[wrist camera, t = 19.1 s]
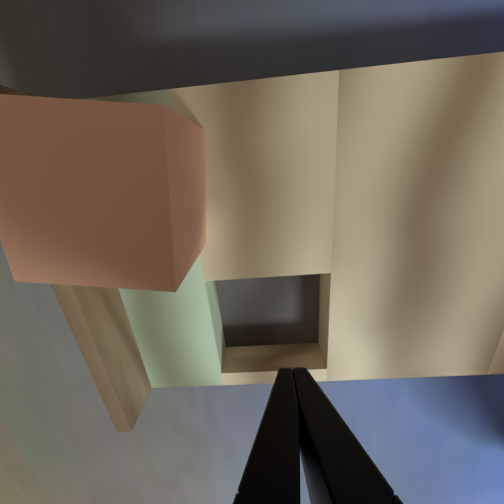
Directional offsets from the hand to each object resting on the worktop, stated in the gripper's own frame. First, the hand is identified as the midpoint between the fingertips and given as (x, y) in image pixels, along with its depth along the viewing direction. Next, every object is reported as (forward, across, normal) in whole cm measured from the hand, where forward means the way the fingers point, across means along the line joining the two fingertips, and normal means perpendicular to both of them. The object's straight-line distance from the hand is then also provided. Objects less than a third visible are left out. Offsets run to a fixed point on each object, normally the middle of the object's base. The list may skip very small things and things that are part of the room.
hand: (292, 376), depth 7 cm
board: (+8, -6, -2) cm, 10 cm away
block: (+5, +6, -6) cm, 10 cm away
